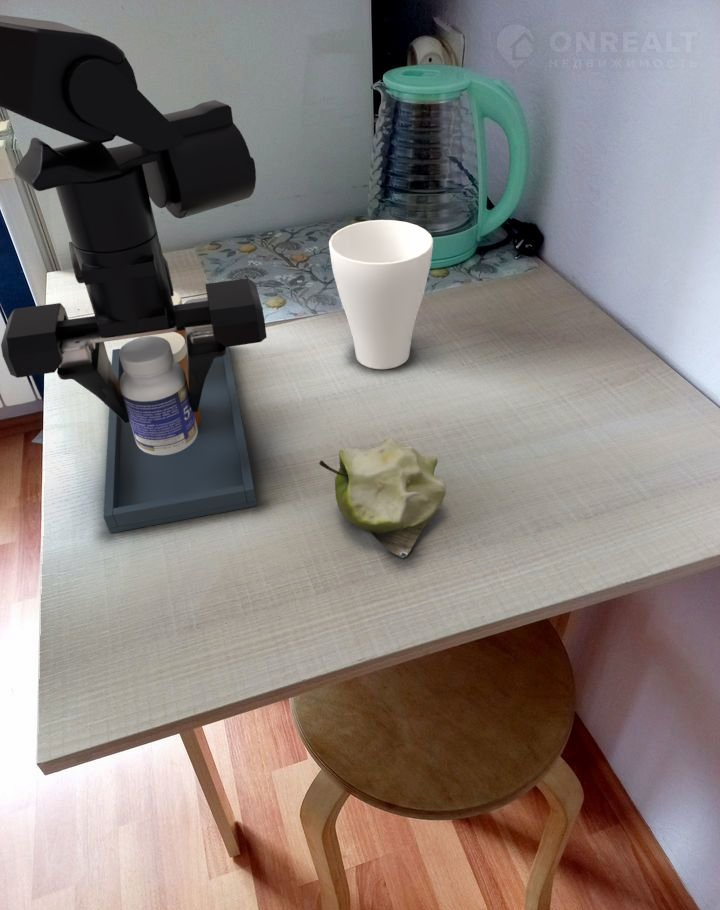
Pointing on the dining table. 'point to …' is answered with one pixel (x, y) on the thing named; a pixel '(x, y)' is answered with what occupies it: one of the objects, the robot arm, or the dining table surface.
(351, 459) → the fruit
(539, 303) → the dining table surface
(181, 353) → the amber bottle middle
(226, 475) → the tray
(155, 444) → the pill bottle
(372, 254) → the cup
